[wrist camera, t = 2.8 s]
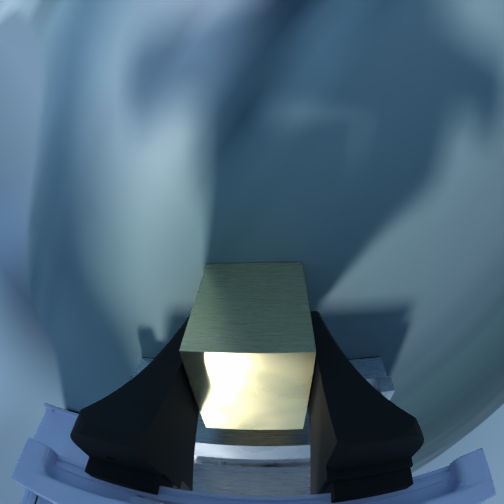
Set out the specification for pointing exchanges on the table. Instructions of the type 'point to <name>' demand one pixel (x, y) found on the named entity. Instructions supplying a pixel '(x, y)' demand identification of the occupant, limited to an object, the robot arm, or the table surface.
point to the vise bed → (270, 432)
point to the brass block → (251, 346)
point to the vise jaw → (251, 480)
